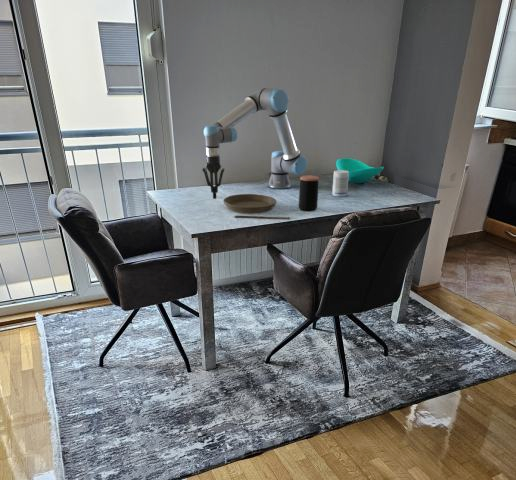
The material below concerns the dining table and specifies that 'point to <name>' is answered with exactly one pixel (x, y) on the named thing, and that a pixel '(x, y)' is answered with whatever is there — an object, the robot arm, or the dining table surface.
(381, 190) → the dining table surface
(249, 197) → the plant saucer
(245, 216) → the walnut ruler
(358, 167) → the table top decor
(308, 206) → the coffee jar
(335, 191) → the supplement tub
